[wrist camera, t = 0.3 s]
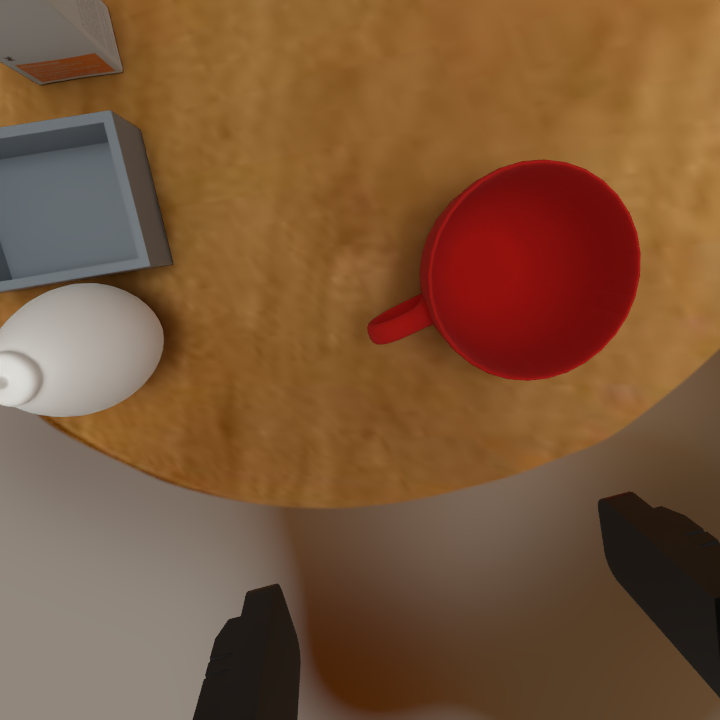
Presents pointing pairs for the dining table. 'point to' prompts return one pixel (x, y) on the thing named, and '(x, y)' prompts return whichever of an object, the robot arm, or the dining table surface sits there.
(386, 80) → the dining table surface
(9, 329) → the sauce bottle
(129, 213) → the bin
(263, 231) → the dining table surface
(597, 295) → the ceramic cup
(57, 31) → the skincare box
